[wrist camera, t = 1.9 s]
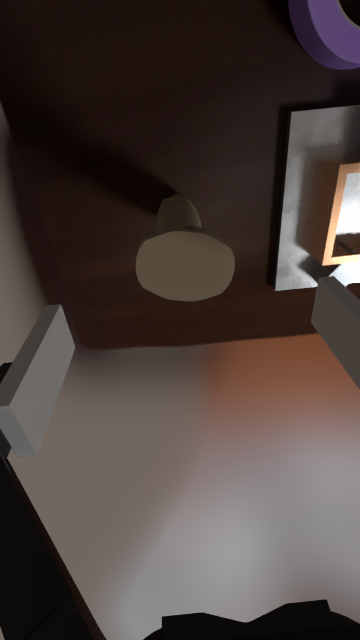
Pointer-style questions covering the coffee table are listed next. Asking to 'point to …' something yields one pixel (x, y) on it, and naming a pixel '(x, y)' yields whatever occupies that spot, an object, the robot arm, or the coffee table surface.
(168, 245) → the handle
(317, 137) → the coupling base
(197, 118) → the coffee table surface
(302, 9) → the masking tape
